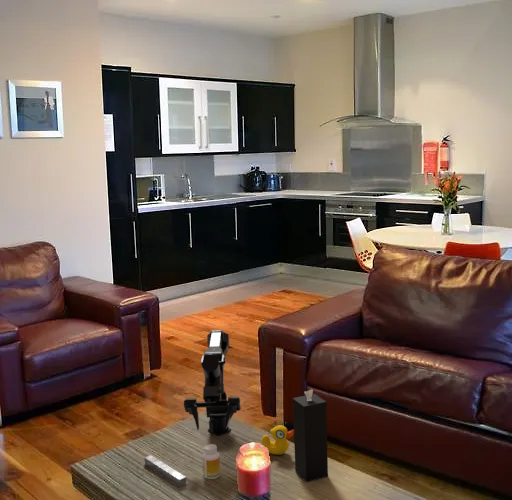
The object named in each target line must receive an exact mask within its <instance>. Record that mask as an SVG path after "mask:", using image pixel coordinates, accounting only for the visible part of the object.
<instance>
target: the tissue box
mask: <svg viewBox="0 0 512 500" xmlns="http://www.w3.org/2000/svg"><path fill="white" fill-rule="evenodd" d="M313 392H314V389H309V390H307V391H304V395H302V396H298V397H292V409H293V410H292V411H293V414H292V415H293V429H294V435H293V440H294V441H293V442H294V445H293V446H294V467H295V468H294V470H295V473H296V474H297V475H299V477H301V478H302V479H303V480H304V482H312V481H317V480H318V479H323V478H327V477H329V468H328V467H329V465H328V463H329V461H328V457H329V456H328V429H327V427H328V425H327V407H328V405H327V401H326V400H325V399H323V398H321V396H319V395H317V394H315V393H313Z"/></svg>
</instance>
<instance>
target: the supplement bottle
mask: <svg viewBox="0 0 512 500" xmlns="http://www.w3.org/2000/svg"><path fill="white" fill-rule="evenodd" d="M203 450H204V452H203V453H202V470H203V477H204V478H205V479H209V480H215V479H217V478H219V477H220V476H221V463H220V459H221V458H220V452H218V447H217V445H216V444H215V443H213V444H212V443H210V444H206V445H205V446H204V448H203Z"/></svg>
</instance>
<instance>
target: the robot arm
mask: <svg viewBox="0 0 512 500" xmlns="http://www.w3.org/2000/svg"><path fill="white" fill-rule="evenodd" d="M206 335H207V336H206V338H207V339H206V341H207V343H206V344H207V347H208V348H205V350H204V352H203V353H204V354H202V356H201V360H200V361H201V362H200V364H201V367H202V372H203V376H204V386H203V387H202V389H203V390H202V391H203V392H202V399H203V401H197V398H196V397H193V398H192V397H191V398H190V397H187V398H185V399H184V400H183V407H184V411H185V412H186V413H188V415H192V416H193V419H194V421H195V422H194V423H195V425H196V430H197V431H199V429H200V423H199V421H200V420H199V411H198V408H199V409H200V408H205V411H206V418H208V419H209V420H208V427H209V428H207V432H210V433H211V434H214V435H215V436H221V435H224V434H226V433H228V432H231V431H232V428H230V427H229V424H230V421H231V419H232V417H233V415H234V414H237V412H238V411H241V410H242V409H241V407H242V406H241V398H240V397H239V396H228V395H227V393H226V391H225V384H224V379H225V378H224V376H225V374H224V371H225V364H226V362H227V358H226V355H227V353H228V352H229V347H230V344H231V343H230V334H228V333H226V332H224V330H222V329H211V330H210V331H209V333H208V334H206Z"/></svg>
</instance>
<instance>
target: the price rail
mask: <svg viewBox="0 0 512 500" xmlns="http://www.w3.org/2000/svg"><path fill="white" fill-rule="evenodd" d="M143 459H144V465H145V466H146V467H147V468H150V470H153V471H154V472H156V473H157V474H158V475H160V476H162V477H163V478H165V479H166V480H168V481H170V482H171V483H172V484H174V485H175V486H177V487H179V488H182V487H184V486H187V477H186V476H185V475H184V474H182V473H180V472H179V471H178V470H176V469H174V468H172V467H171V466H169V465H168V464H166V463H164V462H163V461H161V460H159V458H156V457H155V456H153V455H152V454H149V455H147V456H144V457H143Z"/></svg>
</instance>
